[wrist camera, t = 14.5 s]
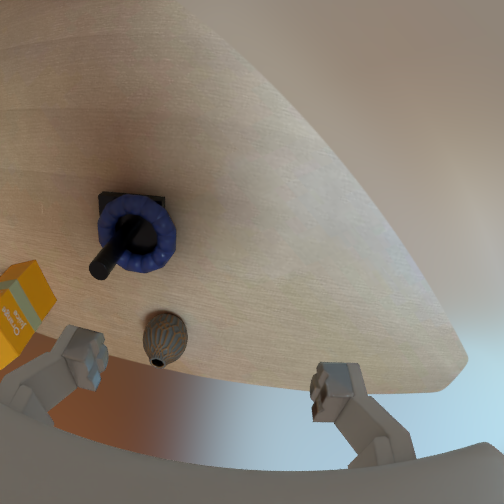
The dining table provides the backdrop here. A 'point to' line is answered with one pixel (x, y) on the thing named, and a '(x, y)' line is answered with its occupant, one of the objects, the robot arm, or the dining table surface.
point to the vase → (164, 340)
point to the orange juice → (21, 307)
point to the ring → (151, 214)
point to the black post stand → (124, 237)
